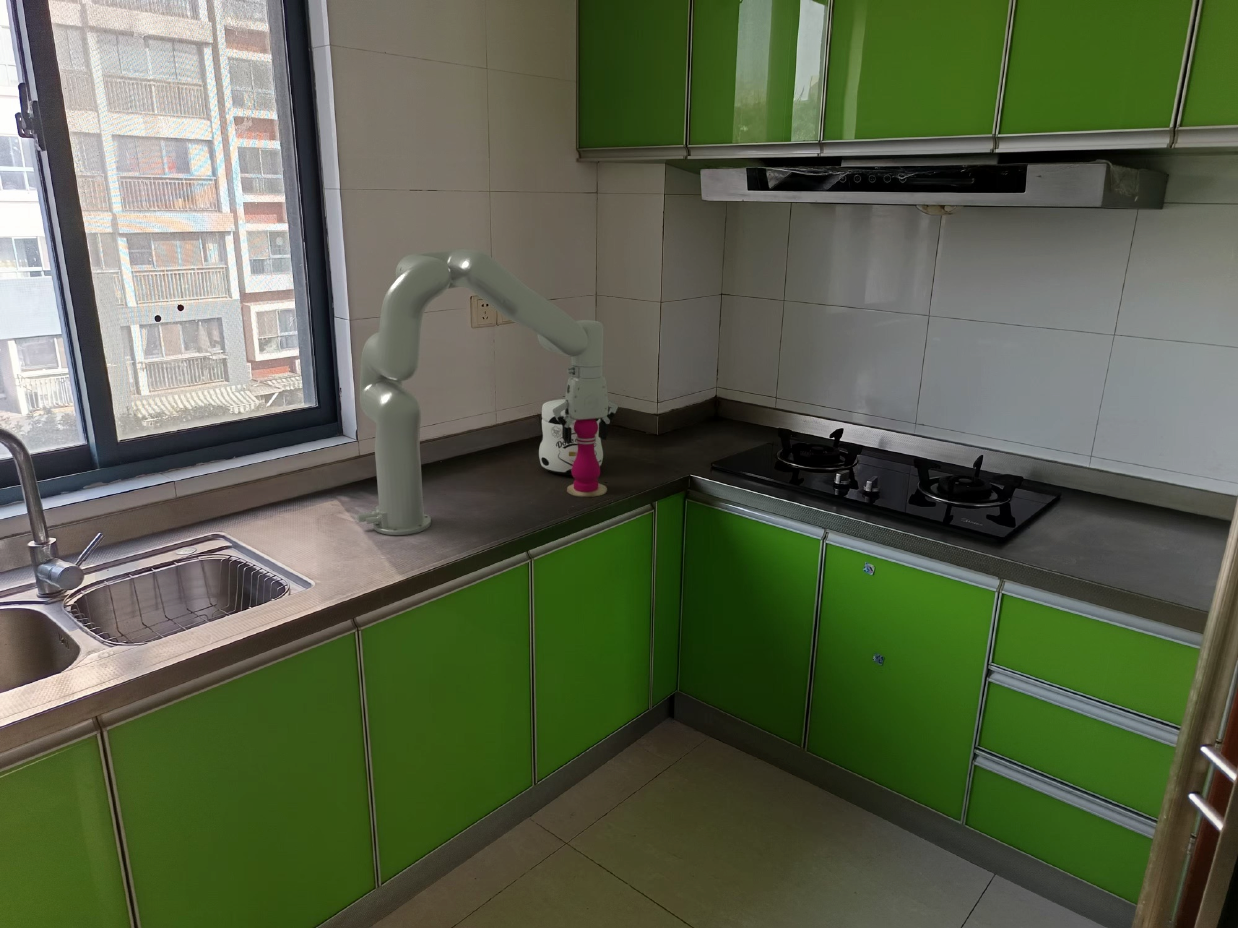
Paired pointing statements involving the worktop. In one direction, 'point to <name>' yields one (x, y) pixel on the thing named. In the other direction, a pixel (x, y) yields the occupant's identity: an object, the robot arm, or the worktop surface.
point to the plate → (598, 492)
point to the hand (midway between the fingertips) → (585, 440)
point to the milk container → (560, 442)
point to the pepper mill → (586, 456)
